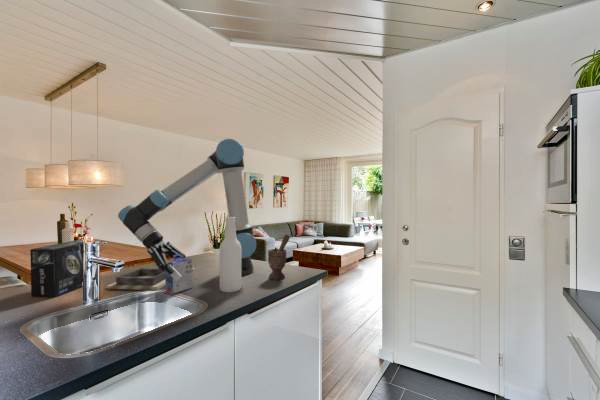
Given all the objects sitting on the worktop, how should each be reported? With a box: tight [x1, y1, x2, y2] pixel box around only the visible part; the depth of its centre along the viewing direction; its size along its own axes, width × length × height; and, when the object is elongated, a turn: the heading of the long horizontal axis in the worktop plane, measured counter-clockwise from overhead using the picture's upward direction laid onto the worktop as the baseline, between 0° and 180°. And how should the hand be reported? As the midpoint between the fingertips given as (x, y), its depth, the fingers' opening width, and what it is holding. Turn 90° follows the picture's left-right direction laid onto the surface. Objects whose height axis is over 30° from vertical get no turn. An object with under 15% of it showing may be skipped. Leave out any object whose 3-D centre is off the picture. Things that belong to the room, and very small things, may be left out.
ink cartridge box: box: [165, 254, 194, 295], centre depth 121 cm, size 10×6×14 cm, turn 149°
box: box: [29, 239, 84, 298], centre depth 123 cm, size 23×10×19 cm, turn 177°
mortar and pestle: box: [267, 234, 290, 281], centre depth 140 cm, size 12×9×20 cm
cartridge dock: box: [106, 267, 166, 291], centre depth 132 cm, size 22×20×4 cm
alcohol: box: [218, 216, 242, 293], centre depth 121 cm, size 9×9×30 cm
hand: (185, 275), depth 121 cm, fingers closed on ink cartridge box, 11 cm apart
